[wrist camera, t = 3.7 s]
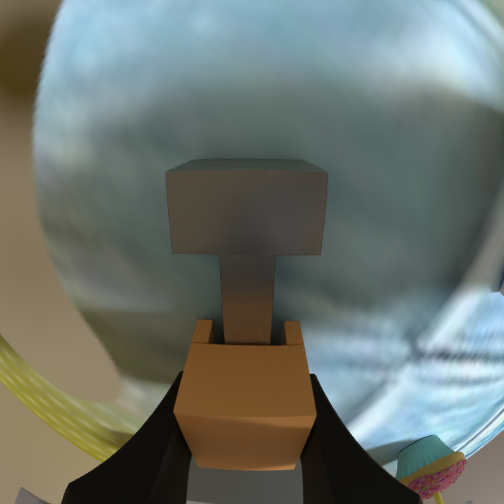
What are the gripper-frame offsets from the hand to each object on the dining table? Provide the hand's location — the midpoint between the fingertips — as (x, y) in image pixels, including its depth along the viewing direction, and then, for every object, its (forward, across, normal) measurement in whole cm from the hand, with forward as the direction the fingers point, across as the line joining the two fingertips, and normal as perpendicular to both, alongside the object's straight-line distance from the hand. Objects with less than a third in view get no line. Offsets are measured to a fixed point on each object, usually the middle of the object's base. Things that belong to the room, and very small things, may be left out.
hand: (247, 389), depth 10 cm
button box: (+2, 0, +14) cm, 14 cm away
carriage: (+2, 0, 0) cm, 2 cm away
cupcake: (+2, -18, +17) cm, 25 cm away
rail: (+2, 0, +2) cm, 3 cm away
